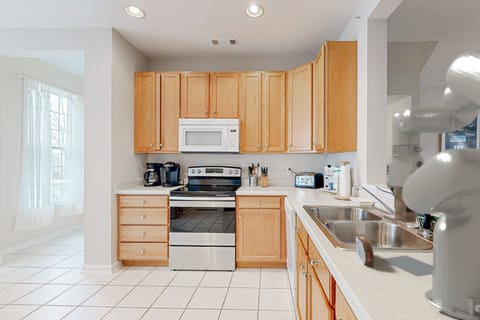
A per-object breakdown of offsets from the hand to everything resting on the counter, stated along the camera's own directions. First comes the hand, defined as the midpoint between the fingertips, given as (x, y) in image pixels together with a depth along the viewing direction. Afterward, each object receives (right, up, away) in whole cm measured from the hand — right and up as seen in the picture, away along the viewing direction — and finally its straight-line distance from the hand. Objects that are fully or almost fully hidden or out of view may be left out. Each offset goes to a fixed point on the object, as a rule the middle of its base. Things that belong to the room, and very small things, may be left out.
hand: (405, 209), depth 86 cm
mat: (+4, -19, +3) cm, 20 cm away
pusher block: (0, -3, 0) cm, 3 cm away
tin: (-10, -19, +8) cm, 23 cm away
